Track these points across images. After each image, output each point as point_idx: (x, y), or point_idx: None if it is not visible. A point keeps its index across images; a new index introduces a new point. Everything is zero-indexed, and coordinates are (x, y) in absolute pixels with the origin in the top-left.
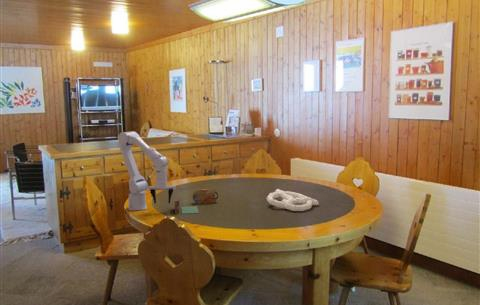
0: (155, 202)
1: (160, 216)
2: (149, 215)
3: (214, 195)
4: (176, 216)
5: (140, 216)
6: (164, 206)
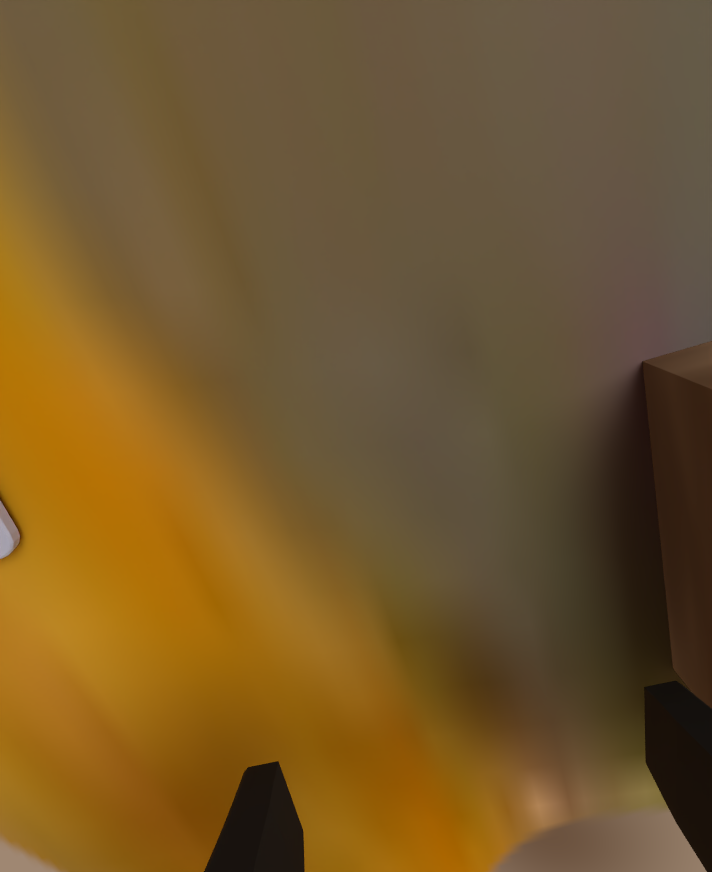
0: (301, 868)
1: (461, 823)
2: None
3: None
4: None
5: (149, 865)
6: (342, 180)
